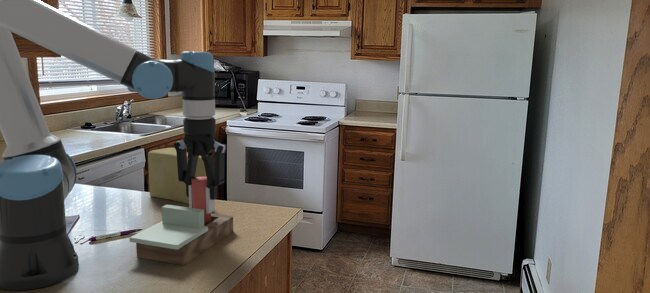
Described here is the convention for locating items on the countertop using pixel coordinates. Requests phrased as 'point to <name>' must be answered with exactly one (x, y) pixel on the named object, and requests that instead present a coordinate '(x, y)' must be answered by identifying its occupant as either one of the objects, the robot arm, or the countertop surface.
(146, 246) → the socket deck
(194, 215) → the cover
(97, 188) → the countertop surface
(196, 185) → the peg
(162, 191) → the cheese
